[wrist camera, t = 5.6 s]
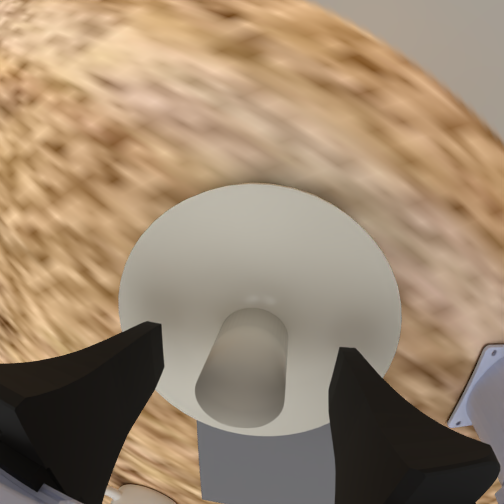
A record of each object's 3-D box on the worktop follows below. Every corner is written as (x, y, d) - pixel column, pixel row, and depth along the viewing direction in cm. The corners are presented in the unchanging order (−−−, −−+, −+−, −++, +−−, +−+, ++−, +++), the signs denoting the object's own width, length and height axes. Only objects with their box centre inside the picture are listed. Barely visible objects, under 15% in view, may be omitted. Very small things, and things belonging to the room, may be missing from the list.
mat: (412, 409, 20) (413, 413, 19) (353, 508, 24) (354, 511, 24) (197, 392, 21) (195, 397, 21) (203, 495, 26) (202, 499, 25)
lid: (423, 207, 12) (484, 233, 7) (354, 432, 16) (364, 500, 11) (126, 172, 13) (54, 182, 9) (138, 398, 17) (102, 455, 12)
